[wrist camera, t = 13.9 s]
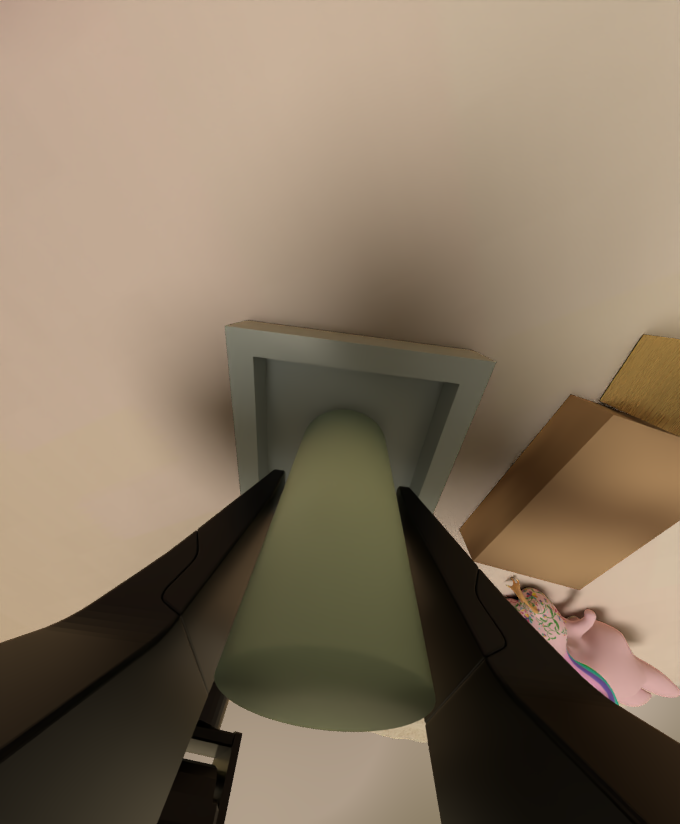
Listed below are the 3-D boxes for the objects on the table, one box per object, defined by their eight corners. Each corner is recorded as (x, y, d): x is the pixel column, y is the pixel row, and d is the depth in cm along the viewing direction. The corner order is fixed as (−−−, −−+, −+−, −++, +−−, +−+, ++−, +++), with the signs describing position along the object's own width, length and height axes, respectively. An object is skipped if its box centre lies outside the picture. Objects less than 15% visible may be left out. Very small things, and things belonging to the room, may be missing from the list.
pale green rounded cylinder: (377, 483, 12) (405, 741, 5) (300, 473, 12) (226, 716, 5) (393, 415, 11) (470, 667, 3) (304, 403, 11) (198, 629, 4)
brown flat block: (549, 549, 17) (579, 589, 14) (456, 523, 16) (472, 561, 14) (685, 432, 12) (759, 464, 10) (563, 391, 12) (613, 414, 9)
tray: (414, 510, 15) (421, 539, 13) (256, 488, 15) (242, 515, 13) (472, 350, 10) (496, 362, 9) (246, 320, 11) (224, 325, 9)
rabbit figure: (461, 584, 20) (602, 675, 21) (486, 680, 15) (675, 800, 15) (521, 546, 18) (680, 650, 18) (577, 645, 12) (801, 789, 13)
